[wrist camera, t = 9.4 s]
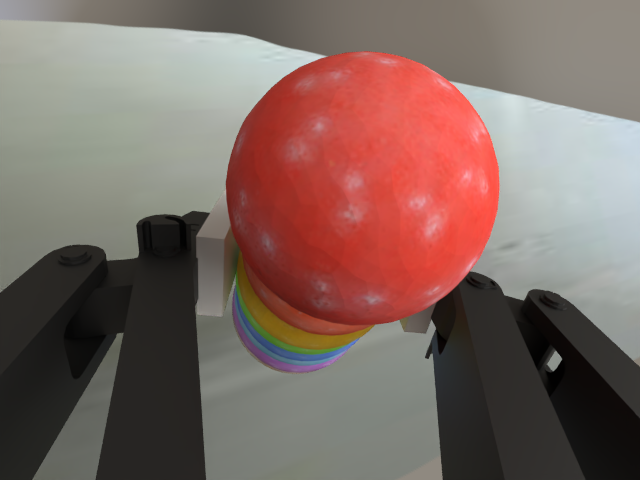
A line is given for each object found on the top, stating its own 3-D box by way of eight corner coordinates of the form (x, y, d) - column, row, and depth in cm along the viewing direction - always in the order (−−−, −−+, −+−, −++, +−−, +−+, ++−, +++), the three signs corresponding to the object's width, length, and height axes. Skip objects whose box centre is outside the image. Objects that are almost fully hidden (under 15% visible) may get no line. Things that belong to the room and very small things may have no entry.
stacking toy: (364, 265, 24) (663, 19, 6) (341, 385, 21) (759, 579, 3) (254, 235, 23) (229, -136, 5) (216, 355, 20) (-80, 398, 3)
